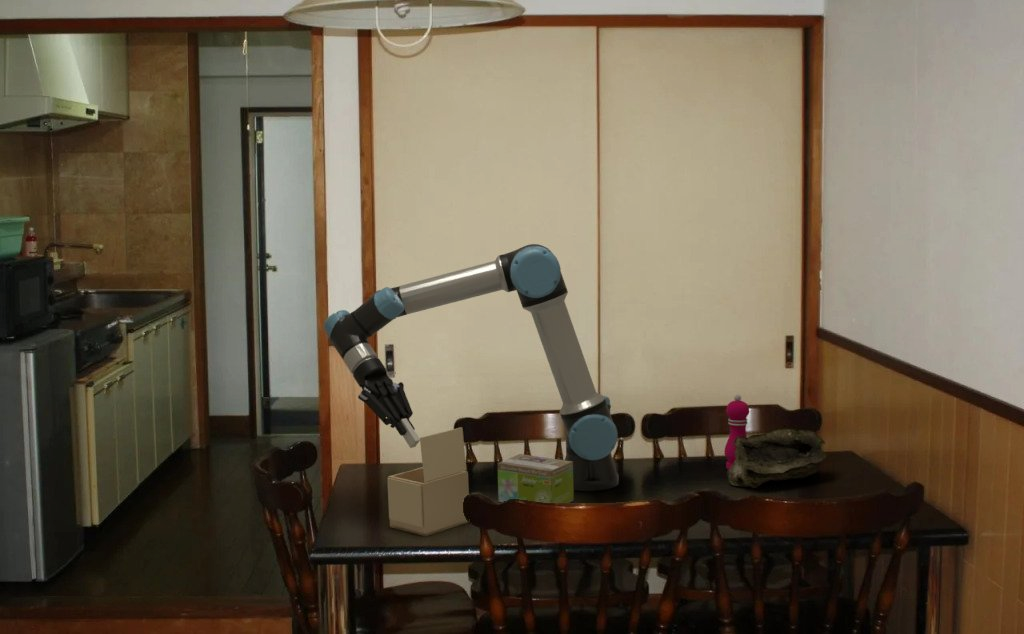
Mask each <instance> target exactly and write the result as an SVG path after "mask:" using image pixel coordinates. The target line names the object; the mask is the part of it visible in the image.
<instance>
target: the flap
mask: <svg viewBox="0 0 1024 634" xmlns="http://www.w3.org/2000/svg"><path fill="white" fill-rule="evenodd" d="M419 439H420V441H419V444H420V453H421V463H422V467H423V474H424V482H427V481H430V480H434V479H437V478H441V477H444V476H448V475H451V474H455V473H458V472H462V471H467V464H466V463H467V462H466V461H467V460H466V453H465V452H466V451H465V443H464V441H465V440H464V431H463V427H461V426H460V427H457V428H454V429H449V430H446V431H442V432H437V433H433V434H428V435H425V436H422V437H419Z"/></svg>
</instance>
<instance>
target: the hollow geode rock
mask: <svg viewBox="0 0 1024 634" xmlns="http://www.w3.org/2000/svg"><path fill="white" fill-rule="evenodd" d="M825 444H826V442H825V440H823V438H822V437H821V436H820V435H819V434H817V432H815V431H813V430H810V429H809V430H808V429H804V428H803V429H795V428H791V427H781V428H780V427H778V428H774V429H772V430H769V431H767V432H765V433H761V434H753V435H749V436H747V437H743V436H739V437H737V438H736V439H735V441H734V443H733V446H735V447H736V448H735V451H734V453H735V455H736V460H735V461H734V463H733V465H732V466H731V467H730V469H729V470H728V469H727V471H726V473H727V478H728V479H727V480H728V482H729V483H730V485H732V486H736V487H742V488H745V487H748V488H752V489H756V488H758V487H759V486H761V485H762V484H763V483H767V482H769V481H771V480H772V481H774V482H778V481H786V480H792V479H798V478H799V479H804V478H807V477H808V476H811V475H814V474H815V473H817V471H818V470H819V468H820V466H821V464H822V461H823V460H824V459H826V458H827V455H828V453H827V452H825V451H824V450H823V448H822V447H823V446H824V445H825Z"/></svg>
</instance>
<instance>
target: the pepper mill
mask: <svg viewBox="0 0 1024 634" xmlns="http://www.w3.org/2000/svg"><path fill="white" fill-rule="evenodd" d="M725 409H726V414H727V416H728V423H727V424H728V425H729V436H728V439H727V442H726V444H725V446H724V451H723V452H724V457H725V458H726V459H727V461H726V465H725V466H726V469H727V471H728V470H729V469H730V467H731V466H732V465H733V463H734V461H735V460H736V455H735V453H734V451H735V448H736V447H735V446H733V443H734V441H735V439H736V438H737V437H739V436H743V437H748V436H747V433H746V432H747V431H746V428H747V425H748V418H747V417H748V416H749V414H750V407H749V404H748V403H746V402H745V401H743V400H742V397H741V395H740V394H736V395H734V400H732V401H730V402H729V403H728V404H727V406H726V408H725Z"/></svg>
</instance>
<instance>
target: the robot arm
mask: <svg viewBox="0 0 1024 634" xmlns="http://www.w3.org/2000/svg"><path fill="white" fill-rule="evenodd" d="M559 262H560V261H559V260H558V258H557V257H556V255H555V254H554V253H553V252H552V251H551V250H550V248H548V247H546V246H544V245H541V244H537V243H536V244H535V243H532V244H531V243H529V244H527V245H523V246H522V247H519V248H517V249H516V250H512V251H510V252H505V253H504V254H500V255H498V256H497V257H496V259H495V260H493V261H489V262H485V263H481V264H477V265H474V266H470V267H465V268H462V269H459V270H455V271H452V272H447V273H444V274H443V273H442V274H440V275H436V276H432V277H429V278H424V279H421V280H418V281H417V280H416V281H414V282H409V283H405V284H401V285H398V286H395V287H388V286H385V287H384V288H382V289H379V290H377V291H375V292H374V293H372V295H371V296H370V298H369V299H367V300H366V301H364V302H363V303H362V304H361V305H359V307H357V308H356V309H355V310H353V311H352V312H349V311H348V310H346V309H345V310H344V309H343V310H342V309H341V310H340V309H339V310H338V311H336V312H335V313H334V312H333V313H332V314H331V315H329V316H328V317H327V318H326V319H325V321H324V324H323V330H324V332H325V333H326V335H327V337H328V339H329V341H330V343H331V344H332V346H333V347H334V348H335V350H336V351H337V353H338V354H339V356H340V358H341V359H342V361H343V363H344V364H345V366H346V367H347V369H348V371H349V372H350V374H352V376H353V379H354V380H355V382H356V383H357V384H358V386H359V387H360V388H361V391H360V393H359V394H358V399H359V400H360V401H361V402H364V404H366V405H367V407H368V408H370V410H371V411H372V412H373V413H374V414H375V415H376V416H377V417H378V419H379V420H381V422H382V423H383V424H384V425H386V426H389V425H390V426H389V427H390V428H392V429H394V428H395V430H396V431H397V432H398V434H399V435H400V436H402V438H403V439H404V441H405V442H406V443H407V445H408V447H409V448H410V449H412V448H415V447H417V445H418V444H419V443H420V437H419V435H418V434H417V432H416V431H415V427H414V425H413V423H412V422H411V420H410V418H412V415H414V414H413V413H414V412H413V410H412V407H411V405H410V402H409V399H408V397H407V395H406V391H405V388H404V383H403V382H402V381H399V383H397V382H393V380H392V378H390V376H388V374H387V369H386V368H387V367H385V365H384V364H383V362H382V361H381V359H380V358H379V356H378V354H377V353H376V351H375V350H374V349H373V347H372V346H371V344H370V342H369V341H368V339H370V338H371V337H373V336H374V335H375V334H376V333H377V332H379V331H380V330H382V329H383V328H385V326H387V325H388V324H390V323H391V322H392V321H393V320H395V319H397V318H400V317H403V316H407V315H410V314H413V313H418V312H422V311H426V310H429V309H433V308H437V307H438V308H439V307H441V306H444V305H448V304H453V303H457V302H460V301H464V300H468V299H472V298H476V297H480V296H483V295H488V294H491V293H495V292H498V291H505V292H506V293H511V292H515V291H516V293H517V295H518V298H519V301H520V304H521V306H522V309H524V310H526V311H527V312H529V313H530V315H531V316H532V318H533V322H534V325H535V328H536V330H537V331H536V332H537V334H538V336H539V340H540V342H541V345H542V348H543V351H544V353H545V356H546V359H547V362H548V364H549V367H550V370H551V374H552V376H553V379H554V383H555V384H556V387H557V390H558V393H559V396H560V399H561V401H562V406H561V408H560V409H559V415H560V416H561V420H562V424H563V425H564V429H565V457H564V460H565V461H573V489H574V491H577V492H597V491H606V490H610V489H613V488H616V487H617V486H618V485H619V484H620V483H619V482H620V480H619V477H620V476H619V473H618V471H617V469H616V464H615V463H614V462H615V460H614V459H613V456H612V452H613V451H614V449H615V447H616V444H617V442H618V436H619V435H618V429H617V426H616V424H615V423H614V421H613V418H612V415H611V408H612V404H611V399H610V398H609V397H608V396H607V395H606V396H605V395H602V394H600V393H598V392H597V391H596V387H595V384H594V382H593V378H592V376H591V374H590V371H589V367H588V365H587V363H586V359H585V356H584V354H583V351H582V348H581V344H580V342H579V338H578V336H577V333H576V330H575V327H574V325H573V324H574V323H573V322H572V318H571V316H570V313H569V310H568V307H567V305H566V302H565V300H566V298H567V295H568V294H569V291H568V288H567V285H566V283H565V279H564V277H563V273H562V272H561V269H562V268H561V265H560V264H561V263H559Z"/></svg>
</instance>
